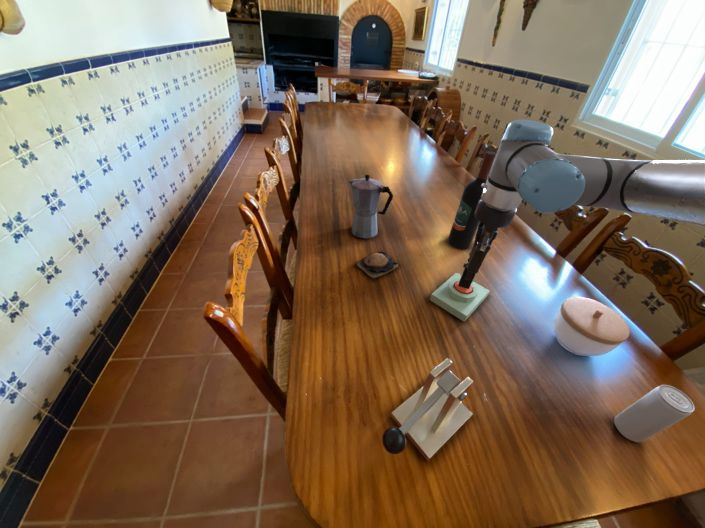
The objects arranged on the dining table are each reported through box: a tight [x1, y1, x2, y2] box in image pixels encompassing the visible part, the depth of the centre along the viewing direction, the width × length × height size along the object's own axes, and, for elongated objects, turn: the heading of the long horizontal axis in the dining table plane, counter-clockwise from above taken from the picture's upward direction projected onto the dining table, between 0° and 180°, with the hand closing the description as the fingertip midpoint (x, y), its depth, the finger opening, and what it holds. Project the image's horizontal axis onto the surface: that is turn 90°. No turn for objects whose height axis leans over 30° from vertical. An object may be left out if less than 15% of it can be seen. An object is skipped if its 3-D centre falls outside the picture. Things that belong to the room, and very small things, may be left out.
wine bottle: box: [447, 150, 497, 250], centre depth 90 cm, size 8×8×30 cm
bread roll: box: [356, 250, 399, 280], centre depth 86 cm, size 11×8×4 cm
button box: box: [429, 272, 491, 323], centre depth 78 cm, size 13×10×4 cm
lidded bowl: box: [552, 296, 631, 357], centre depth 66 cm, size 13×13×11 cm
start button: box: [454, 281, 472, 295], centre depth 77 cm, size 4×4×2 cm
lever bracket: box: [390, 357, 474, 462], centre depth 50 cm, size 12×9×14 cm
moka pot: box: [348, 174, 394, 239], centre depth 94 cm, size 10×15×20 cm, turn 64°
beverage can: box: [613, 384, 696, 443], centre depth 51 cm, size 5×5×12 cm
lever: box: [381, 369, 461, 455], centre depth 46 cm, size 15×4×4 cm, turn 126°
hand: (463, 285), depth 76 cm, fingers closed
